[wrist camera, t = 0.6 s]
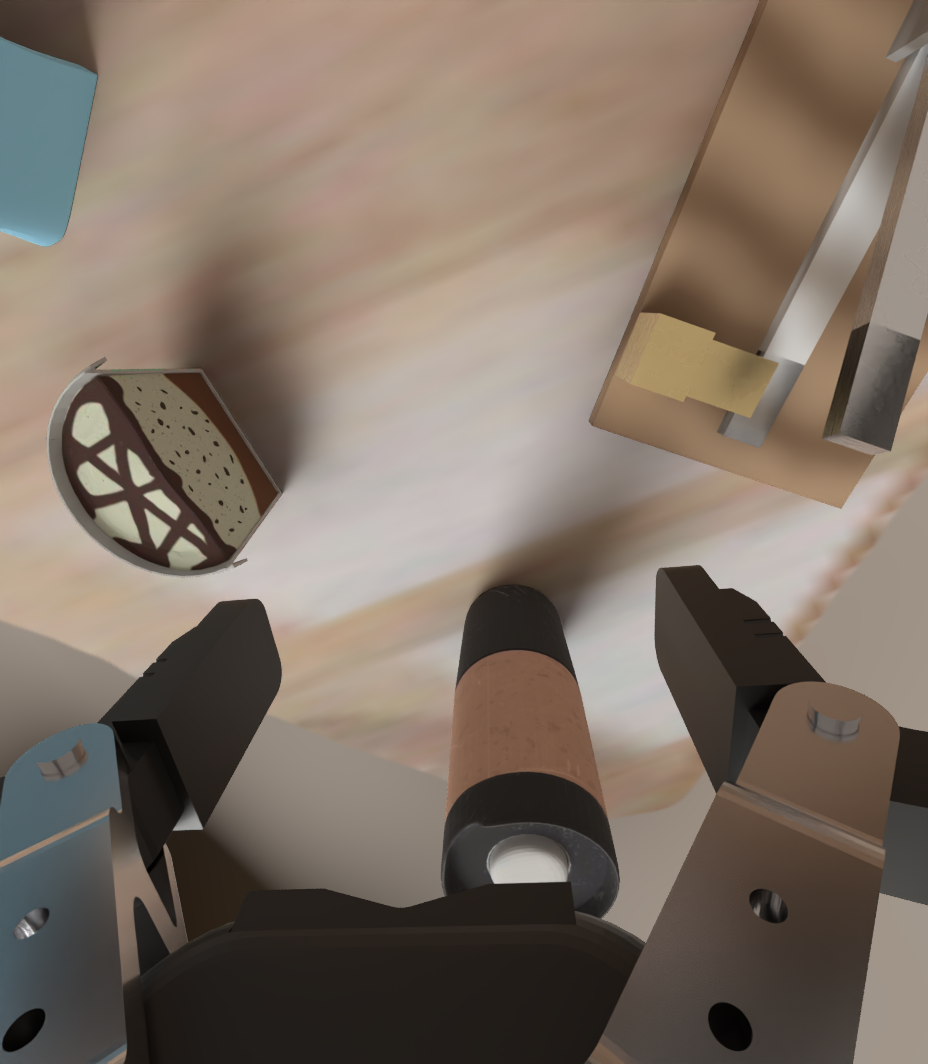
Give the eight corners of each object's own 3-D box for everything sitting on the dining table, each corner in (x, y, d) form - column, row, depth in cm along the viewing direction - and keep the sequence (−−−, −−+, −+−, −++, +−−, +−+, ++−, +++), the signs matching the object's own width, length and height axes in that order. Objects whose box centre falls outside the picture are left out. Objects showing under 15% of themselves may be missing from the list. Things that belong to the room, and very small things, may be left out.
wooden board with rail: (784, -59, 26) (836, -124, 22) (1092, 70, 27) (1194, 30, 23) (588, 421, 35) (601, 435, 31) (827, 500, 36) (869, 524, 32)
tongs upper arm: (936, 22, 25) (958, 0, 24) (982, 41, 25) (1005, 20, 24) (822, 438, 24) (839, 433, 23) (870, 455, 24) (890, 451, 23)
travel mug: (565, 664, 42) (624, 942, 24) (467, 671, 43) (450, 947, 24) (560, 576, 39) (622, 814, 21) (455, 585, 40) (425, 823, 22)
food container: (112, 390, 36) (-19, 419, 27) (187, 346, 34) (75, 360, 25) (223, 546, 40) (143, 619, 30) (294, 512, 38) (232, 577, 29)
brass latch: (640, 312, 31) (660, 313, 27) (753, 352, 32) (788, 358, 28) (614, 375, 32) (630, 383, 29) (723, 412, 33) (752, 425, 29)
